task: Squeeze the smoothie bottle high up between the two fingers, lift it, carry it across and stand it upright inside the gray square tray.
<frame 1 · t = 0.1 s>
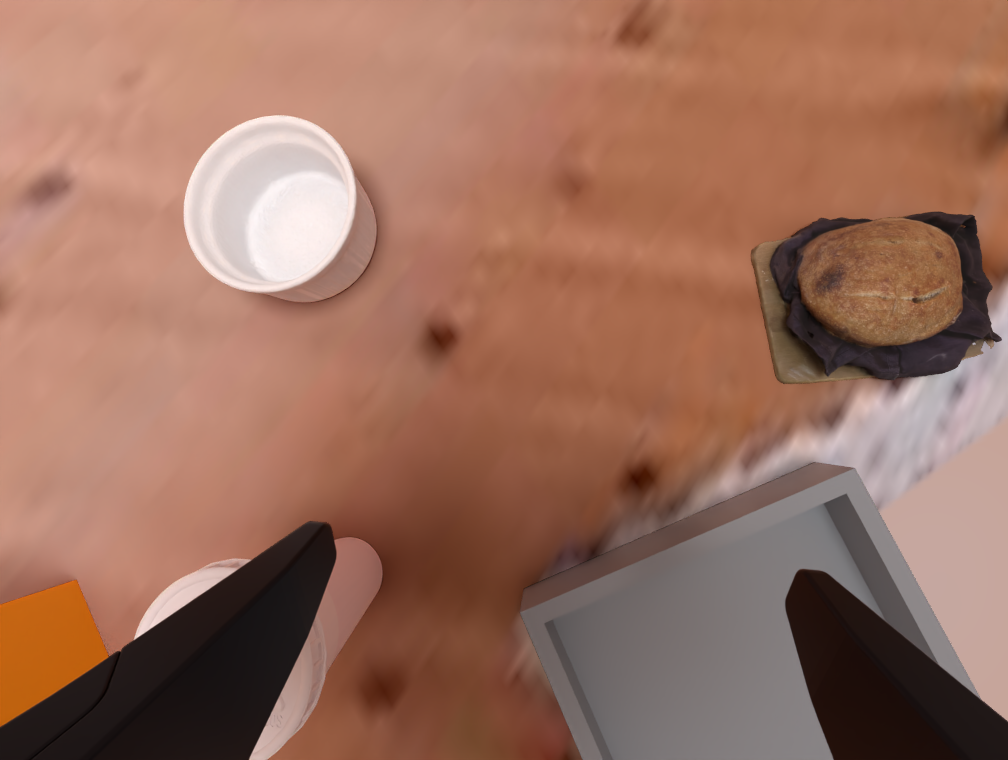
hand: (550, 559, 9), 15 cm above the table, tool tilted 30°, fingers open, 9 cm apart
gray square tray: (741, 681, 22), on the table
orange juice: (53, 683, 25), on the table
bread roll: (860, 301, 24), on the table
ramekin: (314, 238, 27), on the table
smoothie: (350, 572, 24), on the table
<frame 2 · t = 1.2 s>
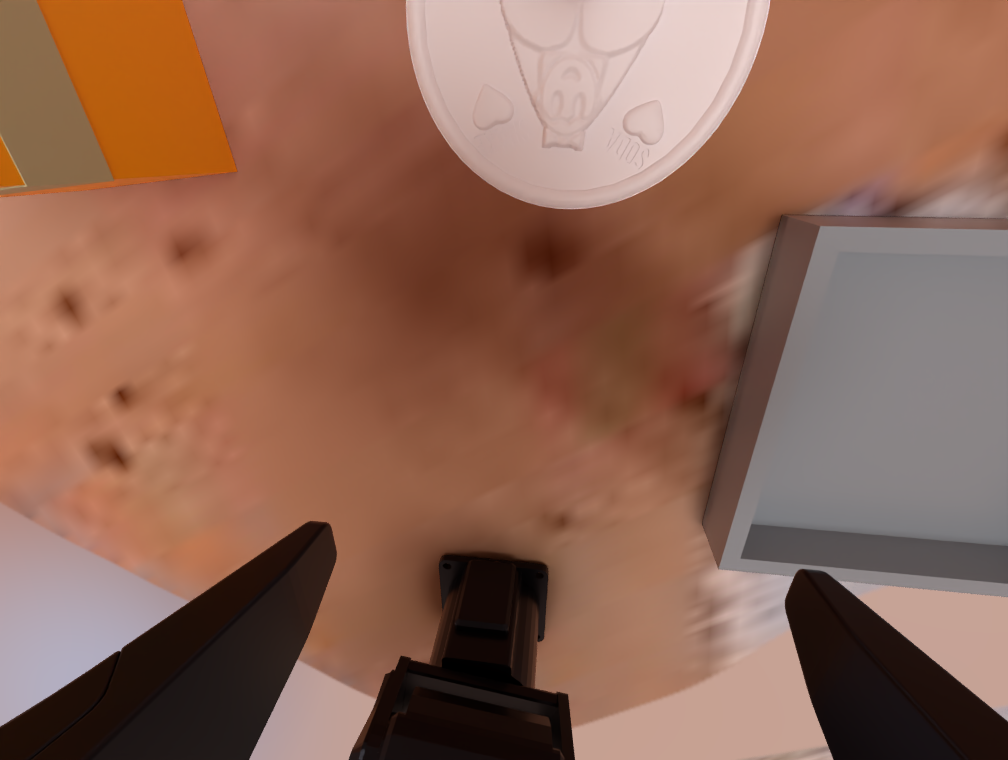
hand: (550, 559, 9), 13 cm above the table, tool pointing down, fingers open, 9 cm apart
gray square tray: (921, 405, 20), on the table
orange juice: (116, 62, 18), on the table
smoothie: (572, 87, 17), on the table
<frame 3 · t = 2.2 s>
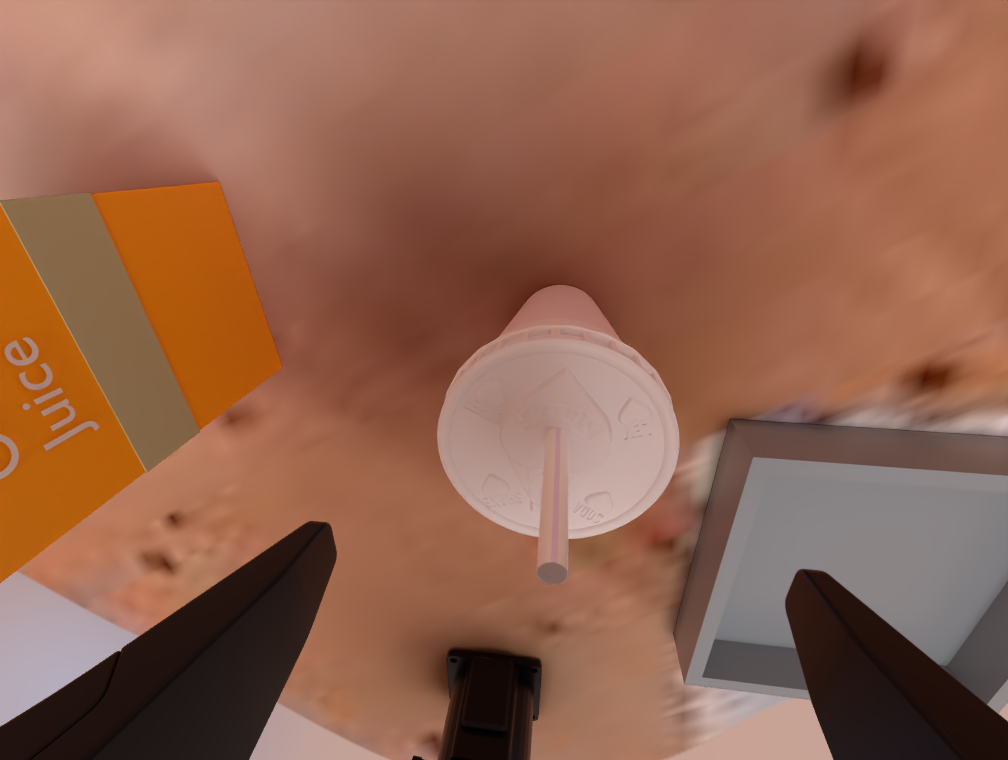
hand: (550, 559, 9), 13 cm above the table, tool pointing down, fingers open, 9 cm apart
gray square tray: (851, 556, 24), on the table
orange juice: (185, 287, 22), on the table
smoothie: (559, 324, 21), on the table
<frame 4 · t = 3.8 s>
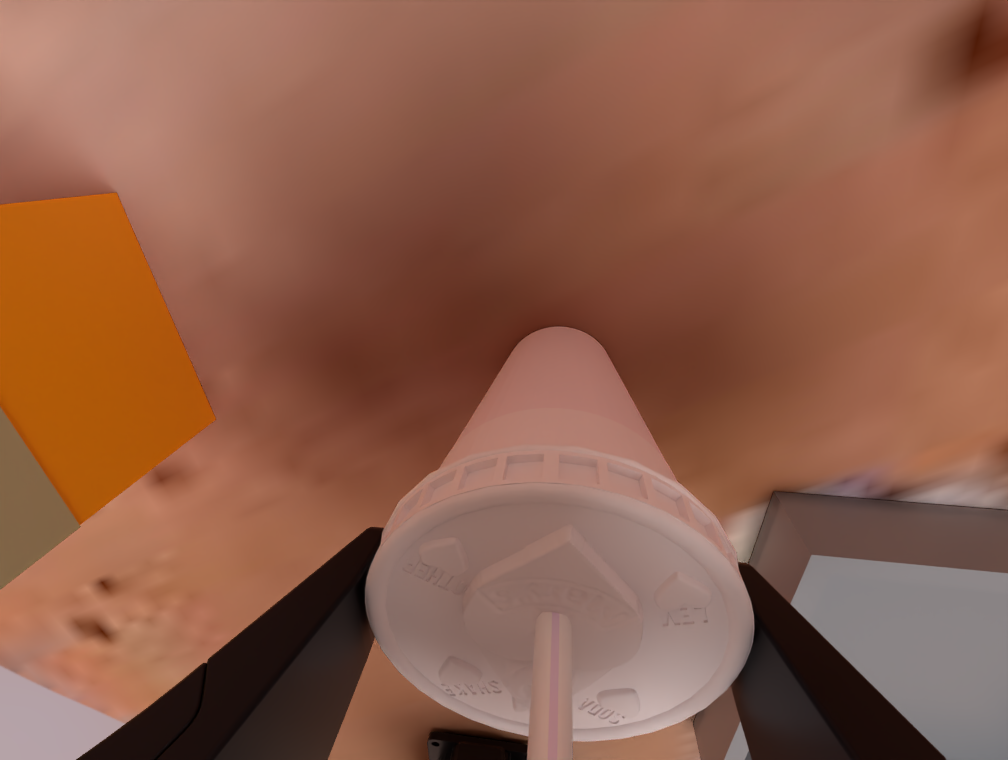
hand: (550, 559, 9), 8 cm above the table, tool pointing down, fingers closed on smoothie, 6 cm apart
gray square tray: (916, 649, 20), on the table
orange juice: (90, 322, 18), on the table
smoothie: (558, 374, 16), on the table, touching gripper
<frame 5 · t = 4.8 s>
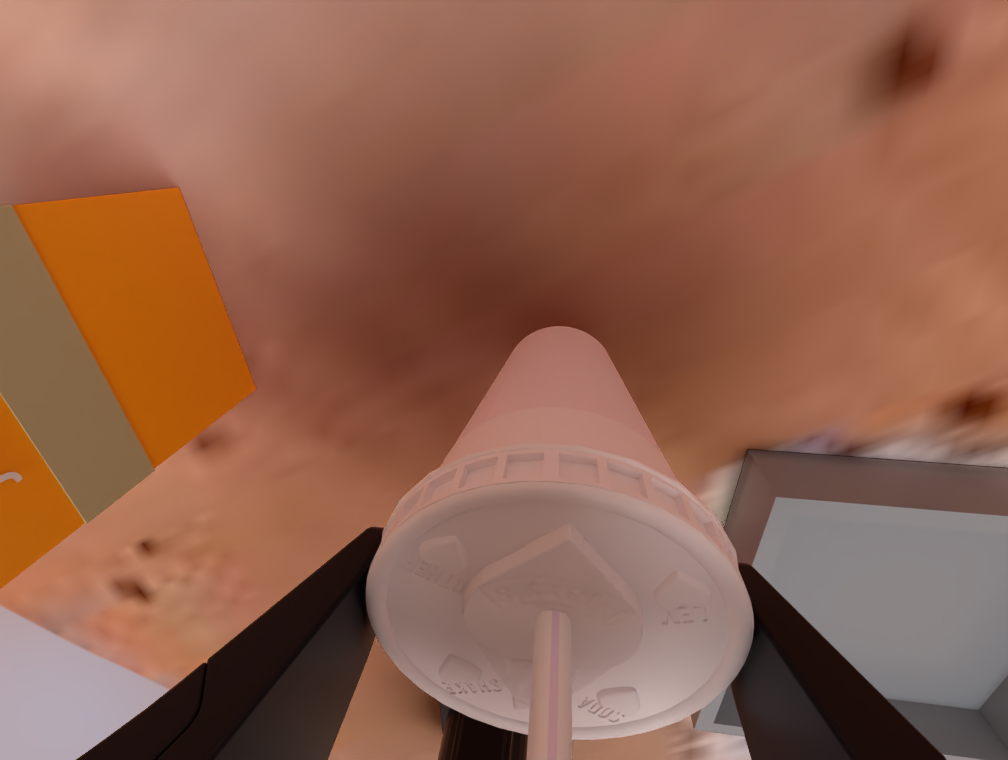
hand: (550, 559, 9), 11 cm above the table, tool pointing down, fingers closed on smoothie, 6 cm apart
gray square tray: (877, 594, 22), on the table
orange juice: (147, 302, 20), on the table
smoothie: (558, 373, 16), point 3 cm above the table, touching gripper
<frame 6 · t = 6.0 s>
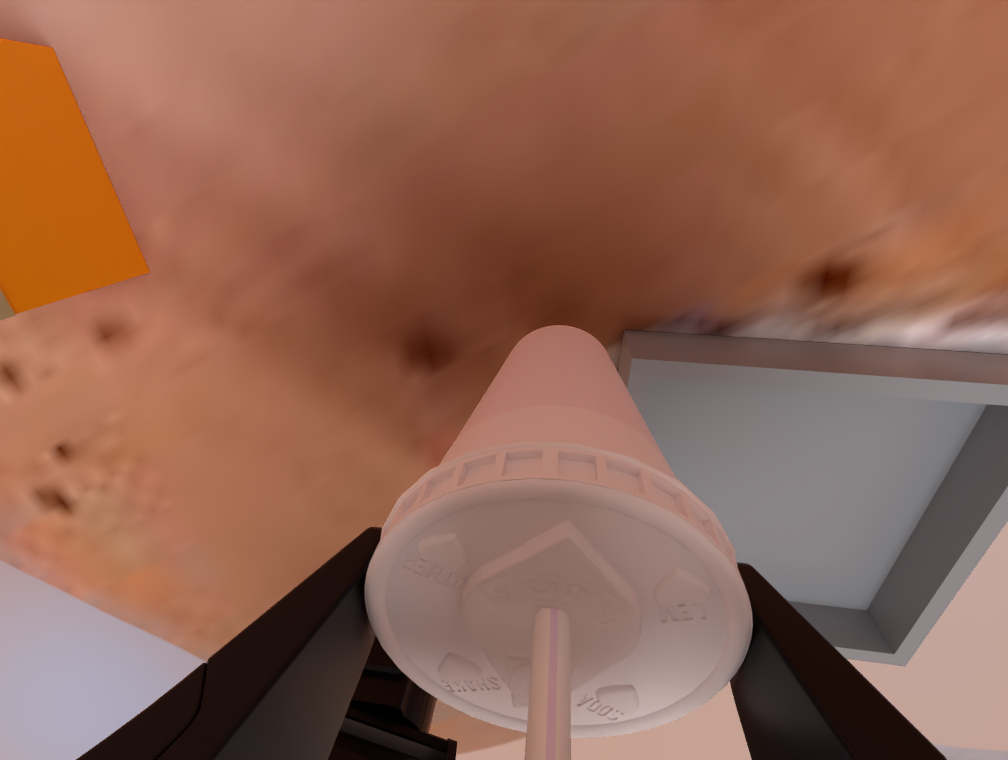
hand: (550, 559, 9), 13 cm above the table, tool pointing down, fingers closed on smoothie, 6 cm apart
gray square tray: (762, 488, 23), on the table
orange juice: (37, 178, 20), on the table
smoothie: (558, 372, 16), point 5 cm above the table, touching gripper
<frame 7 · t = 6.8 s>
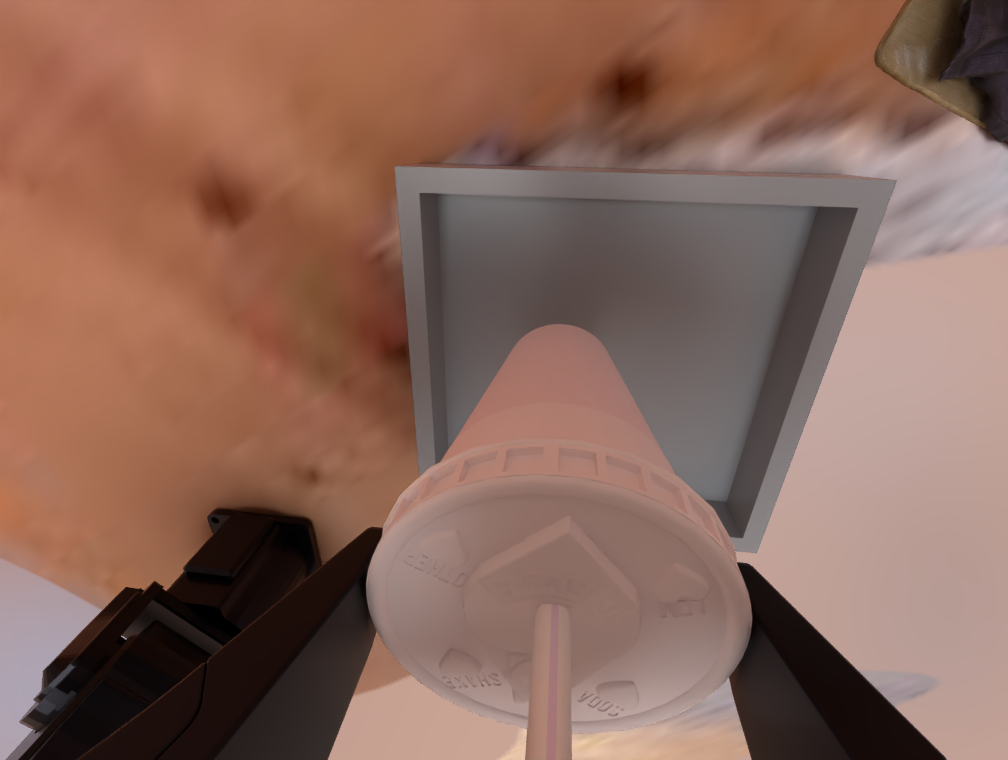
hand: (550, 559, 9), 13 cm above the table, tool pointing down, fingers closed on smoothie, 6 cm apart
gray square tray: (598, 358, 21), on the table
smoothie: (558, 371, 16), point 5 cm above the table, touching gripper
when the fingers open (10 cm above the table, at t = 8.7 s): smoothie drops 1 cm, resting on gray square tray.
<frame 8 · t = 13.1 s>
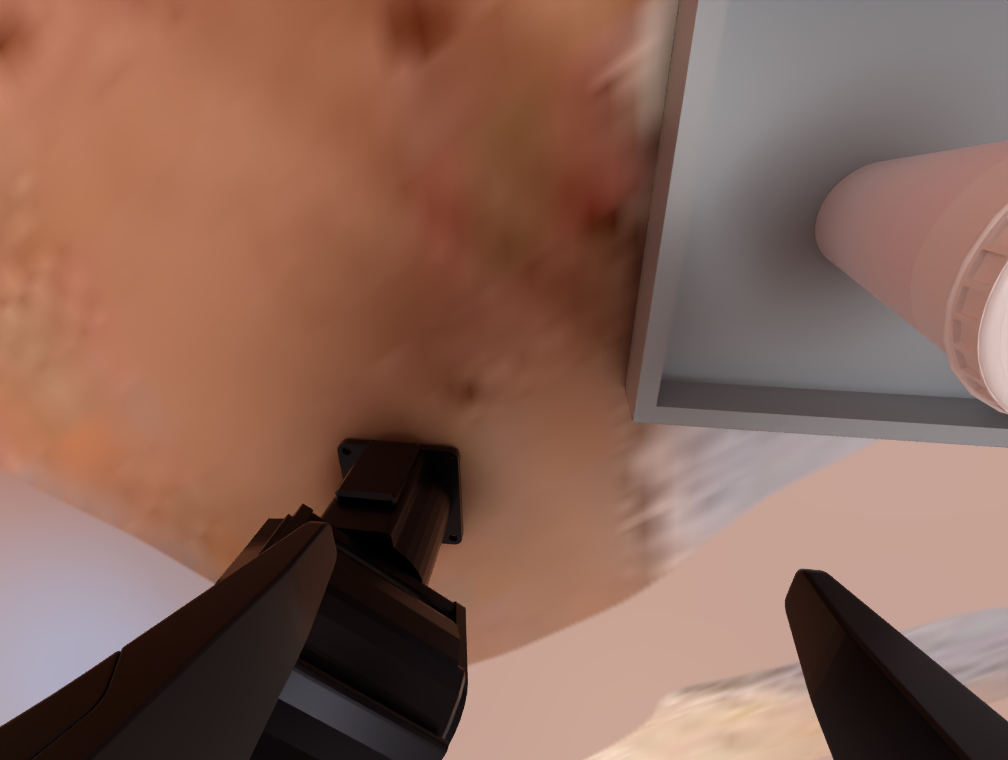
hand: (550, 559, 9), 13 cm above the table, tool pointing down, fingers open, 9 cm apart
gray square tray: (865, 215, 17), on the table
smoothie: (868, 216, 17), resting on gray square tray
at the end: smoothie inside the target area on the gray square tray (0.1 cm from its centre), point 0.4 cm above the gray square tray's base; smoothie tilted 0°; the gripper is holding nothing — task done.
